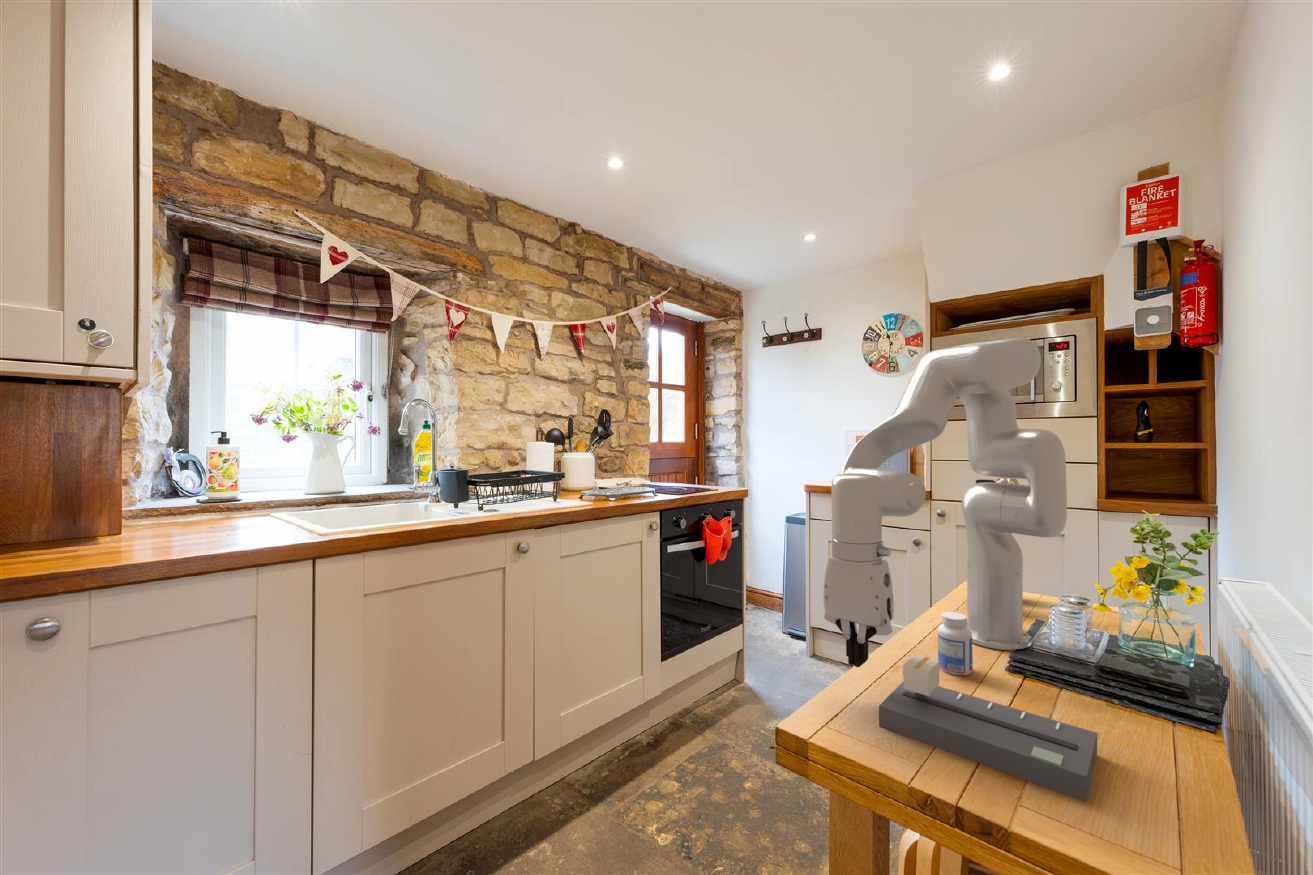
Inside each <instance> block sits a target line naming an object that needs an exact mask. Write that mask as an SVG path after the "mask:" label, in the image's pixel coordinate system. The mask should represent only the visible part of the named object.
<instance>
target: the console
mask: <svg viewBox="0 0 1313 875" xmlns="http://www.w3.org/2000/svg"><path fill="white" fill-rule="evenodd" d="M878 726H879V727H881V728H884V729H887V730H890V731H893V732H895V733H897V734H899V735H902V736H906V737H908V738H910V739H914V740H916V741H919V742H923V743H925V744H927V745H930V746H933V747H936V748H938V749H940V750H944V751H947V752H949V753H952V754H954V755H958V756H960V757H962V758H965V759H968V760H971V761H974V762H976V763H979V764H982V765H984V766H986V767H987V766H988V767H991V768H993V769H996V770H998V771H1002V772H1004V773H1007V774H1009V775H1012V776H1015V777H1017V778H1019V779H1020V778H1021V779H1022V780H1026V781H1028V782H1031V783H1034V784H1036V785H1039V786H1041V787H1044V788H1047V789H1051V790H1053V791H1056V792H1058V793H1060V794H1064V795H1067V796H1069V797H1071V798H1075V799H1078V800H1080V801H1083V802H1085V803H1087V802H1088V798H1089V794H1090V793H1089V792H1090V788H1091V783H1092V779H1093V774H1094V770H1095V765H1096V761H1097V757H1098V732H1096V731H1093V730H1090V729H1085V728H1081V727H1078V726H1076V725H1072V724H1068V723H1065V722H1062V721H1058V720H1055V719H1051V718H1048V717H1044V716H1042V715H1038V714H1034V713H1031V712H1028V711H1024V710H1020V709H1018V708H1015V707H1011V706H1008V705H1004V704H1001V703H999V702H998V703H997V702H993V701H990V700H987V699H983V698H981V697H977V696H973V695H970V694H967V693H964V692H960V691H958V690H957V691H956V690H953V689H950V688H946V687H943V686H940V685H938V686H937V687H936V688H935V689H934V691H933V692H932V693H931V694H930V695H929V696H927V698H926V699H922V698H919V697H916V696H915V692H913V691H910V690H907V689H904V688H903V681H902V682H901V683H900V684H899V685H898V686H897V687H896V688H895V689H894V690H893V691H892V692H891V693H890V694H889V695H888V696H887V697H886V698H885V699H884V700H883V701H882V702H881V703H880V704H879V705H878Z"/></svg>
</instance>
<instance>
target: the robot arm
mask: <svg viewBox="0 0 1313 875" xmlns="http://www.w3.org/2000/svg"><path fill="white" fill-rule="evenodd" d="M1041 359H1042V357H1041V353H1040V349H1039V347H1038V346H1037V345H1036V343H1035V342H1034V341H1033V340H1031V339H1029V338H1026V337H1014V338H1006V339H997V340H989V341H979V342H970V343H966V344H965V343H964V344H960V345H955V346H951V347H946V348H940V349H935V350H931V351H929V352H927V353H926V354H924V355H923V356H922V357H921V358H920V359H919V361H918V362H917V364H916V366H915V368H914V370H913V372H912V374H911V375H910V379H909V380H908V382H907V385H906V386H905V389H904V391H903V393H902V395H901V397H900V400H899V402H898V404H897V406H896V408H895V410H894V412H893V413H892V414H891V415H890V416H889V417H887V418H886V419H884V420H882V421H881V422H880V423H878V424H877V425H875V427H872V429H871V430H870V431H869V432H867V433H866V434H865V435H864V436H862V437H861V438H860V439H859V440H858V441H857V442H856V443H855V444H854V446H853V447H852V448H851V450H850V452H849V454H848V455H847V457H846V458H845V459H846V460H845V462H844V464H843V466H842V468H841V470H840V473H839V474H835V476H833V478H832V480H831V554H830V555H829V556H828V559H827V561H826V562H827V563H826V568H825V573H824V580H823V597H822V598H823V602H822V603H823V610H824V619H825V620H826V621H827V622H829V623H831V624H834V625H836V627H837V628H838V629H839V630H840V632H841V633H842V637H843V638H844V639H845V647H846V648H845V656H846V657H847V660H848V661H847V662H848V665H849V666H854V667H856V668H860V667H861V666H863V665H864V664H865V663H866V662H867V661H868V660H869V640H870V639H871V638H872V637H874V636H889V635H890V634H892V633H893V627H892V623H891V621H892V620H893V619H894V616H895V603H894V601H895V600H894V593H893V592H894V591H893V584H892V577H891V571H890V567H889V562H888V561H887V559H883V558H884V557H891V554H892V551H891V550H892V549H891V547H886V546H884V541H883V540H882V539H883V538H882V537H883V536H882V532H883V531H882V530H883V527H882V526H883V525H882V524H883V523H882V522H883V521H882V518H883V517H897V518H898V517H901V518H903V517H908V516H911V515H913V514H915V513H917V512H918V511H920V510H921V508H922V507H923V505H924V503H925V502H926V497H927V490H926V487H925V484H924V482H923V481H922V480H921V478H919V477H918V476H917V475H916V474H914V473H911V472H909V471H906V470H905V471H904V470H897V469H886V468H880V466H881V465H883V464H884V463H885V462H886V461H888V459H890V458H892V457H893V456H896V455H897V454H899V453H902V452H904V451H907V450H910V449H912V448H916V447H918V446H919V447H920V446H921V445H923V444H926V443H929V442H931V441H933V440H936V439H937V438H938V437H940V436H941V435H942V434H943V432H944V430H945V428H946V426H947V424H948V420H949V419H950V416H951V414H952V412H953V410H954V408H955V405H956V403H957V400H958V398H960V399H961V402H962V403H963V406H964V409H965V416H966V431H967V432H966V434H967V438H966V439H967V453H968V454H967V455H968V462H969V466H970V468H971V470H972V471H974V472H975V473H976V474H978V475H981V476H987V477H988V476H989V477H994V478H995V477H996V478H997V477H998V478H1008V479H1020V480H1021V479H1023V480H1027V482H1028V484H1027V485H1025V484H1015V483H1006V482H996V481H995V482H983V483H977V484H976V483H973V484H971V485H970V486H968V487H967V488H966V489H965V490H964V492H963V495H962V498H961V510H962V514H963V520H964V525H965V531H966V542H967V545H966V547H967V560H966V561H967V562H966V564H967V567H966V569H967V584H966V585H967V588H966V590H967V599H966V600H967V602H966V604H967V626H966V627H967V628H969V629H970V630H971V632H972V644H975V645H978V646H981V647H986V648H989V649H994V650H1003V651H1015V650H1014V648H1015V647H1017V646H1019V645H1020V643H1022V642H1029V639H1030V638H1032V636H1031V635H1030V634H1028V633H1027V632H1026V631H1024V630H1023V627H1024V626H1023V625H1024V620H1023V618H1024V617H1023V615H1024V614H1023V613H1024V610H1023V609H1024V605H1023V604H1024V599H1023V598H1024V597H1023V596H1024V592H1023V591H1024V588H1023V587H1024V585H1023V582H1024V581H1023V580H1024V555H1023V551H1022V550H1021V547H1020V545H1019V543H1018V542H1017V540H1016V538H1015V537H1014V536H1013V534H1017V535H1024V536H1031V537H1036V538H1037V537H1038V538H1054V537H1057V536H1059V535H1060V534H1061V533H1062V532H1063V531H1064V529H1065V527H1066V525H1067V524H1066V523H1067V520H1068V519H1067V518H1068V517H1067V516H1068V496H1067V495H1068V493H1067V488H1068V487H1067V462H1066V451H1065V448H1064V447H1065V446H1064V444H1063V442H1062V440H1061V439H1060V437H1059V436H1058V435H1057V434H1056V433H1055V432H1053V431H1051V430H1047V429H1042V428H1041V429H1040V428H1019V426H1018V421H1017V420H1018V419H1017V406H1016V402H1015V400H1014V398H1013V396H1012V395H1011V393H1010V392H1009V390H1011V389H1016V388H1018V387H1021V386H1024V385H1027V384H1029V383H1031V382H1032V381H1033V380H1034V379H1035V377H1037V375H1038V373H1039V371H1040V368H1041V363H1042V360H1041ZM857 624H858V629H857Z"/></svg>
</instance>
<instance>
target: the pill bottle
mask: <svg viewBox="0 0 1313 875" xmlns="http://www.w3.org/2000/svg"><path fill="white" fill-rule="evenodd" d="M941 622H942V624H940V625H938V628H937V656H938V658H937V660H938V661H939V669H940V670H942V671H943V672H945V673H947V674H950V675H954V676H968V675H971V674H972V673H973V670H974V669H973V664H974V663H973V660H974V659H973V656H974V655H973V643H972V632H971V630H970V629H969V628H967V627H966V626H967V622H968V615H966V614H964V613H961V612H957V611H945V612H942V613H941Z"/></svg>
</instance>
